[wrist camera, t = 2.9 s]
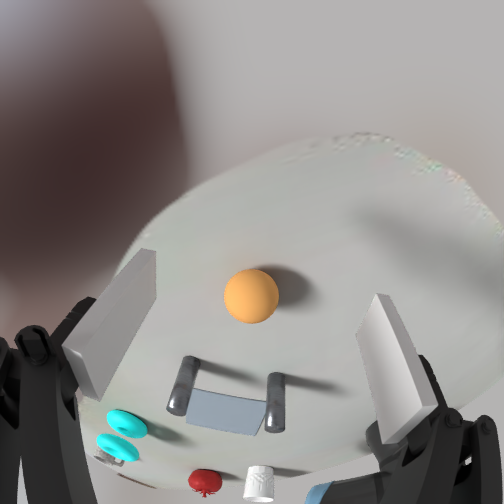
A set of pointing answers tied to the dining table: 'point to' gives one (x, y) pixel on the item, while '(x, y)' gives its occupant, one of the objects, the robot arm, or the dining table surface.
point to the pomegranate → (205, 481)
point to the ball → (251, 296)
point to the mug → (106, 457)
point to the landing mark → (225, 412)
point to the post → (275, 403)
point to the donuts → (127, 427)
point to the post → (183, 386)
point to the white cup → (259, 484)
